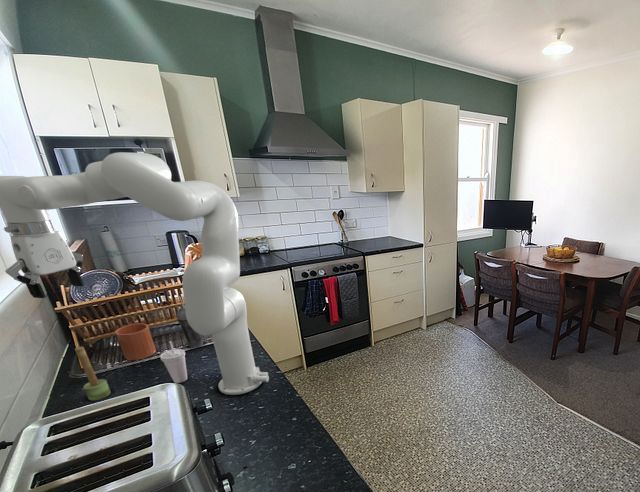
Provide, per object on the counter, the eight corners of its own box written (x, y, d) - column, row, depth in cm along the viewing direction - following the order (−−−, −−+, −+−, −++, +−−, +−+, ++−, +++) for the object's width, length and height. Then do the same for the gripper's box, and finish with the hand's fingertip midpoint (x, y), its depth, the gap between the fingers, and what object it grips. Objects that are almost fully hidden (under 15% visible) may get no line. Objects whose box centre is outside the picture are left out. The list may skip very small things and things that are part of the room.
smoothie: (180, 386, 107) (168, 347, 101) (163, 383, 108) (149, 344, 103) (197, 375, 113) (186, 337, 107) (180, 372, 114) (168, 335, 108)
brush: (115, 390, 105) (96, 344, 98) (101, 400, 100) (79, 352, 93) (98, 390, 105) (78, 343, 98) (83, 400, 100) (61, 352, 93)
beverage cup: (211, 343, 133) (198, 294, 124) (191, 351, 127) (176, 300, 119) (201, 338, 136) (188, 290, 128) (181, 345, 130) (166, 295, 122)
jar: (162, 348, 128) (154, 323, 124) (144, 360, 120) (134, 335, 116) (137, 347, 128) (128, 323, 124) (117, 359, 120) (107, 334, 116)
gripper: (2, 235, 80) (35, 304, 87) (80, 223, 96) (102, 282, 103) (-25, 233, 81) (9, 301, 88) (56, 222, 96) (80, 280, 103)
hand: (59, 291), depth 95 cm, fingers open, 9 cm apart
